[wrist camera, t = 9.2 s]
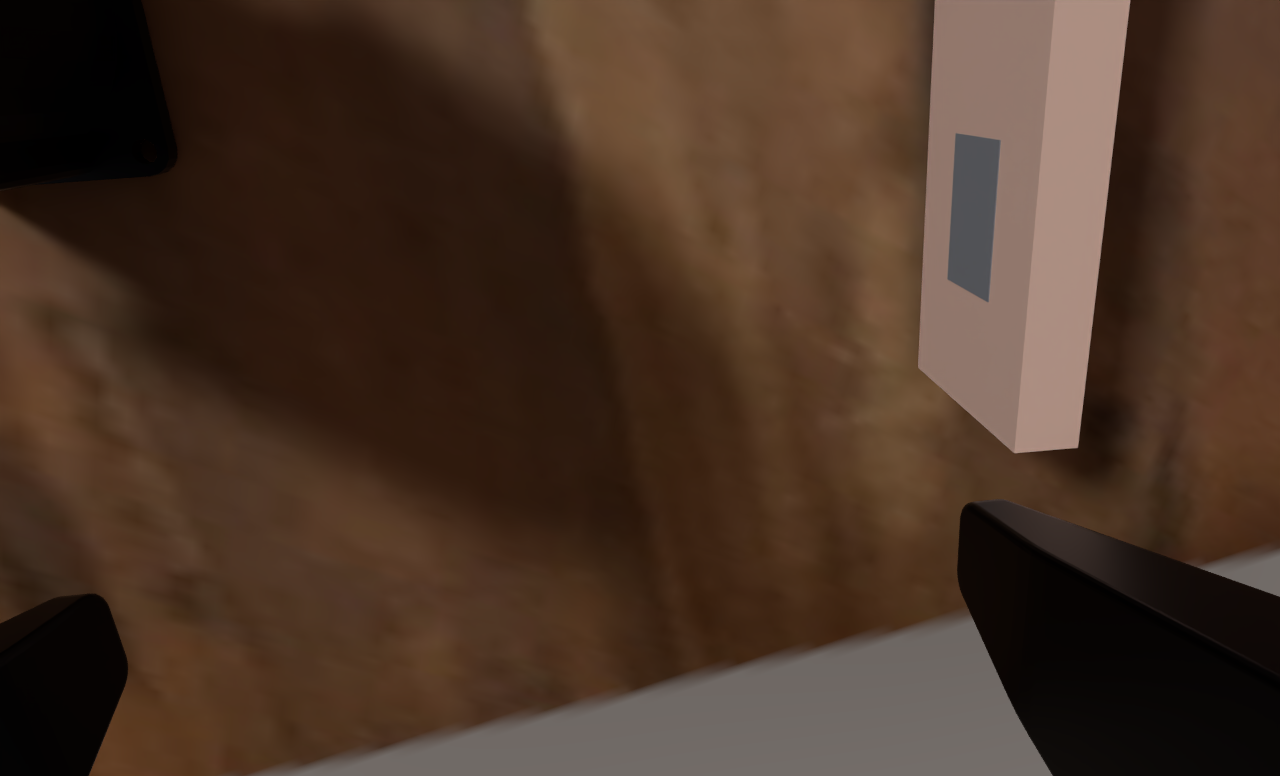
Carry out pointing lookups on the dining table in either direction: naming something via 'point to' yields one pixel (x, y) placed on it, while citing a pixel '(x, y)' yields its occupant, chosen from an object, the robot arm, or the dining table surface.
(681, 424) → the dining table surface
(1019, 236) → the pink plank
